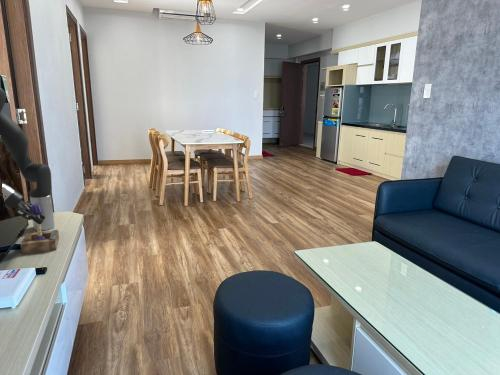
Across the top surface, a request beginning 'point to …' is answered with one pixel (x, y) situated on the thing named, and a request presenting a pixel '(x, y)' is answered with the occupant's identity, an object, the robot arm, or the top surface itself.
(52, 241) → the walnut jig
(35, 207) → the toy lamp
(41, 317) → the top surface
